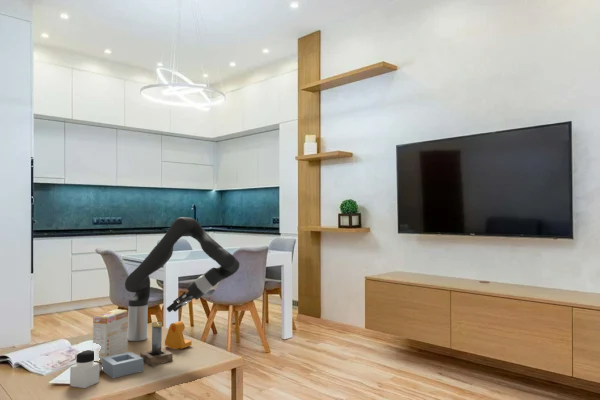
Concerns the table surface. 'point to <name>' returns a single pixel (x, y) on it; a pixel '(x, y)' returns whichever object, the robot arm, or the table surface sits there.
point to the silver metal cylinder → (156, 338)
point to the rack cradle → (122, 364)
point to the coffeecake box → (111, 332)
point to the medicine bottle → (84, 370)
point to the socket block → (156, 357)
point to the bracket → (176, 336)
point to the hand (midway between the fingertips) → (170, 310)
